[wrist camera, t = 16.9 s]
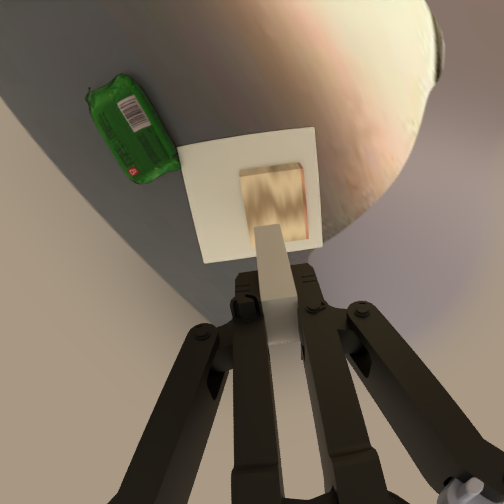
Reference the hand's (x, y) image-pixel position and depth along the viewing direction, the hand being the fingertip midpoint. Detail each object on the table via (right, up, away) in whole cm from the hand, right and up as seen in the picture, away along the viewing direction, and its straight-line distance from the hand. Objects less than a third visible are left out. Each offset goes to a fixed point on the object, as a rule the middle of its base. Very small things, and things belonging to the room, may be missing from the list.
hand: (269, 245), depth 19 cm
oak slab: (-2, +5, +24) cm, 25 cm away
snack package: (-16, +16, +20) cm, 30 cm away
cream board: (-1, +7, +25) cm, 26 cm away
